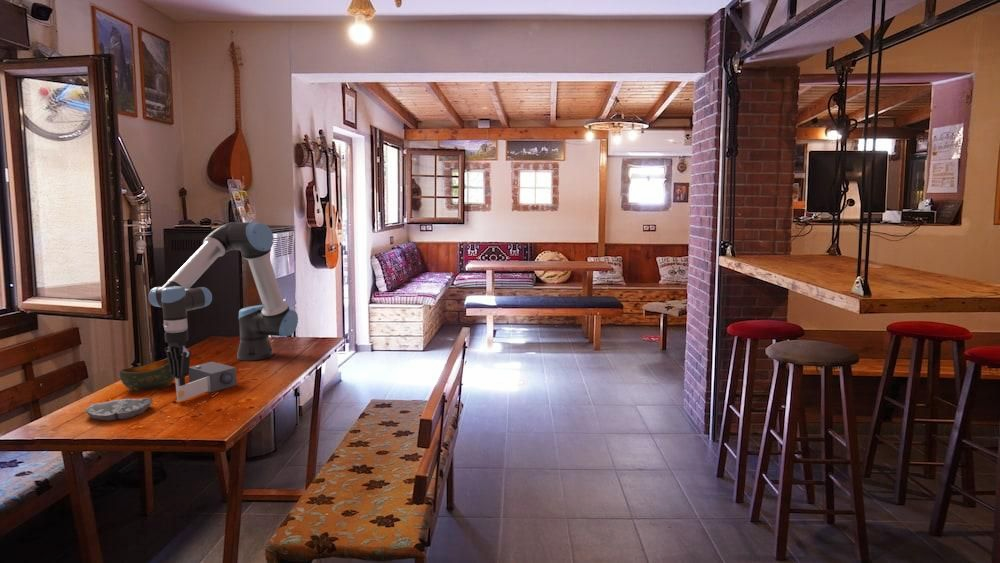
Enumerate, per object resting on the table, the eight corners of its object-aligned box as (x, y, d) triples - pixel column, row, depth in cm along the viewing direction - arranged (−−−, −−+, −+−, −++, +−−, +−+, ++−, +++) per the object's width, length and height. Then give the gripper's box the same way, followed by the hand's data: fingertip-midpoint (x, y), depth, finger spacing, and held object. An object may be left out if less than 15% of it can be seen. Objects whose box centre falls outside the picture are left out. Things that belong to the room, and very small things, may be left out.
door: (176, 403, 222) (175, 387, 221) (209, 391, 236) (208, 376, 235) (180, 403, 222) (179, 387, 221) (212, 391, 235) (211, 376, 234)
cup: (175, 391, 237) (172, 365, 235) (118, 393, 234) (115, 367, 233) (187, 380, 250) (185, 356, 248) (133, 383, 247) (131, 358, 246)
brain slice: (80, 427, 201) (79, 419, 200) (90, 411, 216) (89, 402, 216) (150, 418, 208) (149, 410, 208) (155, 403, 224) (154, 395, 223)
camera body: (213, 378, 252) (212, 360, 251) (239, 385, 243) (238, 366, 241) (189, 384, 244) (187, 365, 243) (215, 392, 234) (213, 372, 233)
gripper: (155, 330, 223) (160, 394, 226) (176, 334, 216) (181, 400, 219) (176, 326, 229) (180, 388, 233) (196, 330, 222) (201, 394, 226)
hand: (181, 394), depth 226 cm, fingers closed
